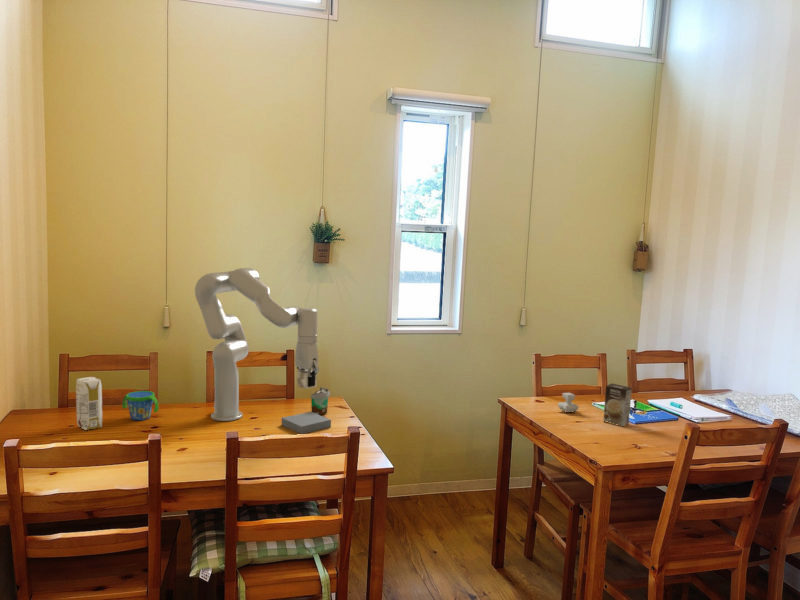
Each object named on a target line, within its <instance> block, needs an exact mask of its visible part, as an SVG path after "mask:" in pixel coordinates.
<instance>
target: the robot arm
mask: <svg viewBox="0 0 800 600" xmlns="http://www.w3.org/2000/svg"><path fill="white" fill-rule="evenodd" d="M235 291H237V292H239V293H240V294H242V295H243V296H244V297H245V298H247V299H248V300H250V302H252V303H254V304H255V306H256V308H257V309H258V312H259V313H260V314H261V315H262V316H263V317H264V319H267V321H269V322H270V323H271V324H273V325H275V326H276V327H278V328H282V329H284V328H285V329H286V328H288V327H293V326H296V325H297V342H296V347H295V355H294V357H295V358H294V365H295V367H296V368H297V371H300V370H308V374H309V377H308V387H311V388H313V387H312V386H315V376H316V374H317V375H318V373H319V371H320V366H319V350H318V344H317V343H318V311H317V309H315V308H311V307H305V308H303V307H300V306H299V307H298V306H292V305H291V306H286V307H282V306H281V305H279V304H278V303H277V302H276V301H274V299H272V297H271V296H270V293H271V292H270V291H271V288H270V287H269V286H267V285H266V284H265V283H264V282H262V281H261V280H260V275H259V273H258V271H257V270H255V269H254V268H251V267H244V268H236V269H234V270H230V271H222V272H211V273H210V272H209V273H206V274H204V275H202V276H201V277H200V278H199V279H198V280H197V282H196V284H195V286H194V295H195V300H196V302H197V303H198V307H199V309H200V311H201V315H202V318H203V320H204V324H205V327H206V330H207V332H208V335H209V337H210V338H211V339H212V340H222V339H224V341H222V342H220V343H218V344H216V346H214V348H213V350H212V355H211V357H212V363H213V369H214V404H213V408H214V412H212V413H211V414H210V419H212V420H213V421H217V422H218V421H219V422H230V421H235V420H236V421H237V420H239V419H241V418H243V412H242V411H240V410H239V407H240V406H239V402H240V399H239V398H240V397H239V394H240V391H239V387H240V386H239V382H240V381H239V380H240V379H239V378H240V377H239V376H240V375H239V370H238V366H237V362H239V361H242V360H244V359H245V358H247V356H248V355H249V351H250V350H249V344H248V339H247V336H246V334H245V332H244V329H243V326H242V322H241V321H240V319H239V318H238V317H237V316H236V315H234V314H232V313H231V314H229V313H226V312H225V311H224V308H223V304H222V302H221V301H220V299H219V298H218V296H217V294H221V293H229V292H235ZM311 370H313V371H312V372H311Z"/></svg>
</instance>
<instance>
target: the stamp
mask: <svg viewBox="0 0 800 600" xmlns="http://www.w3.org/2000/svg"><path fill="white" fill-rule="evenodd" d="M561 393H562V394H561V395H562V398H563V399H564V400H565V401H562V402H558V403H557V406H558V409H559V410H561V409H562V410H564V411H566V412H572V411H573V412H574V411H578V410H579V408H580V407H579V405H577V404H575V403H573V402H572V401H573V400H575V398H576V395H575V394H574V393H572V392H561ZM562 410H561V411H562ZM564 411H563V412H564ZM566 412H565V413H566ZM574 413H575V412H574Z"/></svg>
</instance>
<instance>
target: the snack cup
mask: <svg viewBox="0 0 800 600" xmlns="http://www.w3.org/2000/svg"><path fill="white" fill-rule="evenodd" d="M153 404H154V409H153ZM121 407H122V409H124V410H125V409H127V408H128V413H129V419H130V420H131V419H132V420H131V421H139V420H140V421H146V420H148V419H150V417H151V415H152V410H153V413H158V411H159V409H160V405H159V402H158V399H157V397H156V396H155V392H153V391H149V390H137V391H132V392H128V393H127V394H125V395H124V396H123V399H122V403H121ZM145 419H146V420H145Z"/></svg>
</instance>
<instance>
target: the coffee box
mask: <svg viewBox="0 0 800 600" xmlns="http://www.w3.org/2000/svg"><path fill="white" fill-rule="evenodd" d="M631 399H632V387H629V386H626V385H621V384H616V383H609V384H607V385H605V397H604V409H603V420H604V421H608V422H611V423H614V424H618V425H621V426H620V427H622V426H624V425H626V424H628V425H629V424H630V415H631V403H632V402H631ZM614 424H613V425H614ZM618 425H617V426H618ZM626 426H627V425H626ZM624 427H625V426H624Z"/></svg>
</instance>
